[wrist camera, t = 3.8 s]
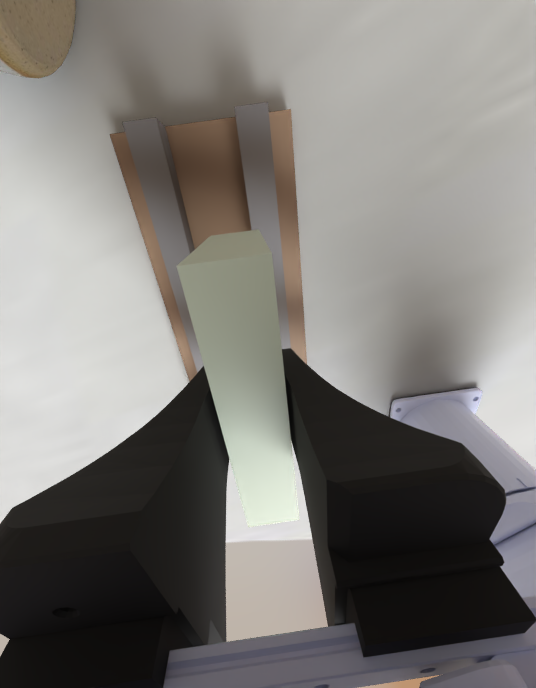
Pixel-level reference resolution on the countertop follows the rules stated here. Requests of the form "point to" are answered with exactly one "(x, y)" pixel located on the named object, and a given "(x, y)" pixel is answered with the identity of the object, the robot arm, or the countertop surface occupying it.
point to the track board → (216, 204)
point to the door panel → (244, 367)
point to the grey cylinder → (35, 36)
